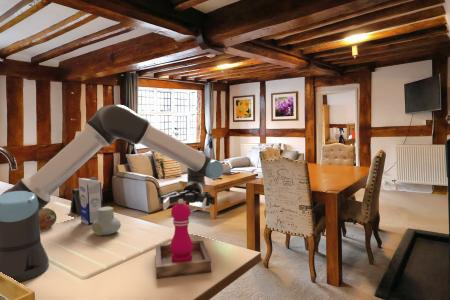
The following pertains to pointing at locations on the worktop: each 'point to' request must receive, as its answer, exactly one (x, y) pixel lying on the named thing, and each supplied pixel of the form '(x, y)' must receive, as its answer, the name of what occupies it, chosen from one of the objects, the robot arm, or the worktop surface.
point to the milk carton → (90, 199)
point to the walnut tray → (170, 269)
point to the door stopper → (75, 202)
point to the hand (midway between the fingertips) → (183, 206)
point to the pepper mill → (181, 233)
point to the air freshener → (106, 222)
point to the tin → (46, 218)
